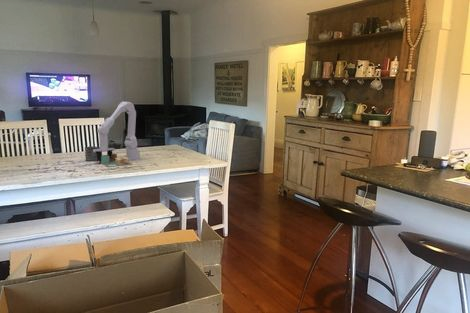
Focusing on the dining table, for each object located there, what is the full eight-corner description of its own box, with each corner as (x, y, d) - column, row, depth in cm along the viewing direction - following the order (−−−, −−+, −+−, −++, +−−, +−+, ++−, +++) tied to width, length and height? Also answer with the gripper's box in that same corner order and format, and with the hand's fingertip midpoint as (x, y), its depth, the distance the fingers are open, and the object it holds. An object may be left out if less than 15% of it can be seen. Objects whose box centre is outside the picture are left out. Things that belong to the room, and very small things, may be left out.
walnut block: (114, 160, 270) (114, 153, 269) (117, 161, 265) (116, 154, 264) (107, 160, 267) (107, 153, 266) (109, 162, 262) (109, 154, 261)
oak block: (125, 162, 259) (125, 157, 258) (128, 164, 254) (128, 158, 253) (115, 163, 255) (115, 158, 254) (118, 165, 250) (118, 159, 249)
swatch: (114, 164, 251) (114, 164, 251) (116, 166, 247) (116, 165, 247) (107, 165, 248) (107, 165, 248) (109, 166, 244) (109, 166, 244)
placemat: (126, 161, 264) (126, 161, 264) (133, 165, 253) (133, 164, 253) (101, 164, 254) (101, 163, 254) (107, 168, 243) (107, 167, 243)
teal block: (107, 162, 262) (107, 154, 261) (109, 163, 257) (109, 156, 256) (99, 163, 259) (99, 155, 257) (101, 164, 254) (101, 156, 253)
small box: (102, 160, 268) (102, 146, 266) (97, 162, 261) (96, 148, 259) (90, 159, 270) (90, 145, 268) (85, 161, 264) (84, 147, 262)
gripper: (112, 141, 262) (112, 159, 265) (91, 142, 254) (92, 161, 257) (115, 142, 257) (116, 161, 259) (94, 144, 248) (95, 163, 251)
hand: (104, 161), depth 258 cm, fingers closed on teal block, 5 cm apart
